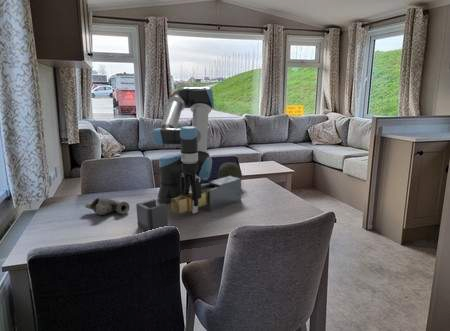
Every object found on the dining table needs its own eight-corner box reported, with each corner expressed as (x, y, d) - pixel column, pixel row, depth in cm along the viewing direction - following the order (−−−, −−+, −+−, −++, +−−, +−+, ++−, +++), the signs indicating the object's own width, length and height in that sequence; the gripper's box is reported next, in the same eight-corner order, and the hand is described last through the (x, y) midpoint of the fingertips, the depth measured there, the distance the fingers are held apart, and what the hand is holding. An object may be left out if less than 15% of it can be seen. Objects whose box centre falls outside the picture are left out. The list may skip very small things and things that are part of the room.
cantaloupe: (247, 187, 188) (247, 162, 184) (230, 193, 178) (230, 167, 175) (229, 182, 198) (229, 158, 194) (212, 188, 188) (212, 162, 184)
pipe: (109, 225, 158) (81, 217, 148) (111, 208, 163) (83, 200, 153) (130, 214, 150) (101, 205, 140) (131, 197, 155) (104, 187, 145)
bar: (170, 211, 145) (169, 197, 144) (221, 194, 167) (221, 182, 165) (178, 215, 141) (178, 201, 139) (230, 197, 162) (230, 185, 161)
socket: (138, 227, 137) (136, 204, 134) (155, 221, 142) (153, 198, 140) (150, 234, 130) (148, 210, 128) (167, 228, 136) (166, 204, 133)
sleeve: (199, 207, 159) (199, 184, 156) (230, 196, 173) (230, 175, 170) (210, 211, 153) (210, 187, 150) (241, 200, 167) (241, 178, 164)
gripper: (171, 160, 148) (173, 208, 153) (196, 166, 136) (197, 218, 141) (184, 157, 153) (185, 203, 158) (209, 163, 141) (210, 213, 146)
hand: (191, 210), depth 150 cm, fingers closed on bar, 5 cm apart
